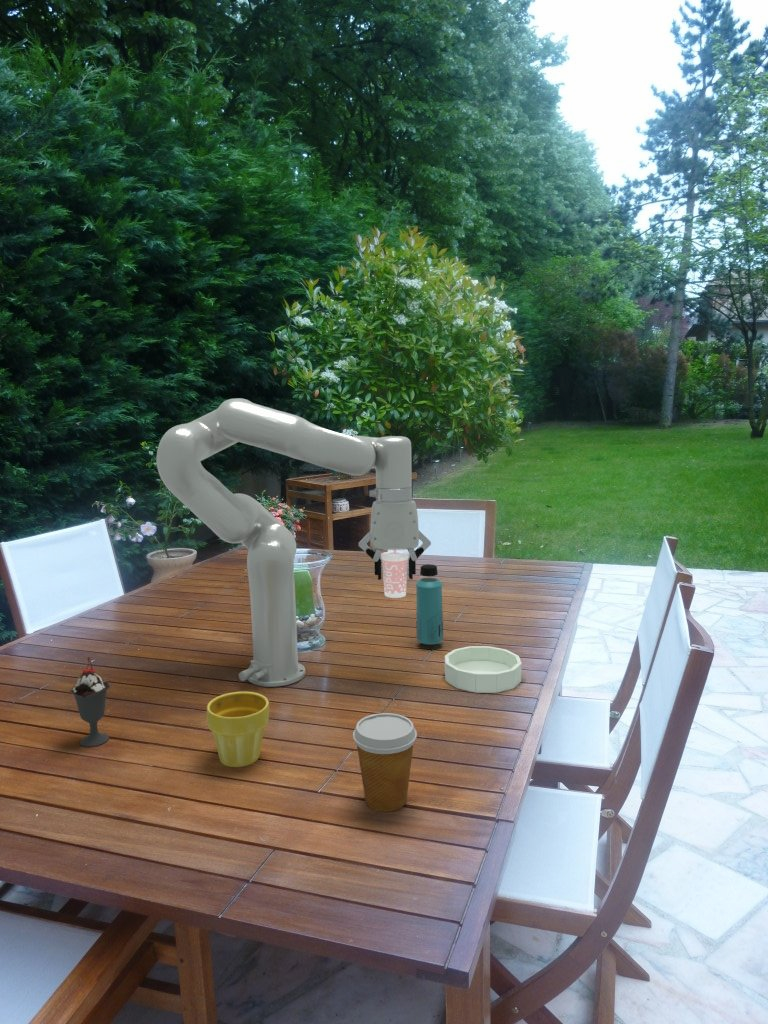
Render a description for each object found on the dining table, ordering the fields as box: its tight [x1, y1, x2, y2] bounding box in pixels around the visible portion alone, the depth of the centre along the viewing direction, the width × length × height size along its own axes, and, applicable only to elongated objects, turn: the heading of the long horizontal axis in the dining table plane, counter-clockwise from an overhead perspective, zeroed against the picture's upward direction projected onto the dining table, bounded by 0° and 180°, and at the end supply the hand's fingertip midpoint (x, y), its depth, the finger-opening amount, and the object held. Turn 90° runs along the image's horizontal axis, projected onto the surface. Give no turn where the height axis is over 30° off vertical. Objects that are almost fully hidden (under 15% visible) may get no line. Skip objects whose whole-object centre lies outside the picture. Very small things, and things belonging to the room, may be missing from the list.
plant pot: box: [206, 691, 270, 768], centre depth 120 cm, size 10×10×10 cm
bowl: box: [444, 645, 523, 694], centre depth 153 cm, size 16×16×4 cm
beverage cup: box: [380, 550, 410, 599], centre depth 152 cm, size 6×6×14 cm
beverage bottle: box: [415, 564, 444, 645], centre depth 170 cm, size 6×7×20 cm
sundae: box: [69, 656, 111, 748], centre depth 126 cm, size 7×7×15 cm
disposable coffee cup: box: [352, 712, 418, 813], centre depth 107 cm, size 10×10×12 cm
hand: (395, 577), depth 153 cm, fingers closed on beverage cup, 6 cm apart
